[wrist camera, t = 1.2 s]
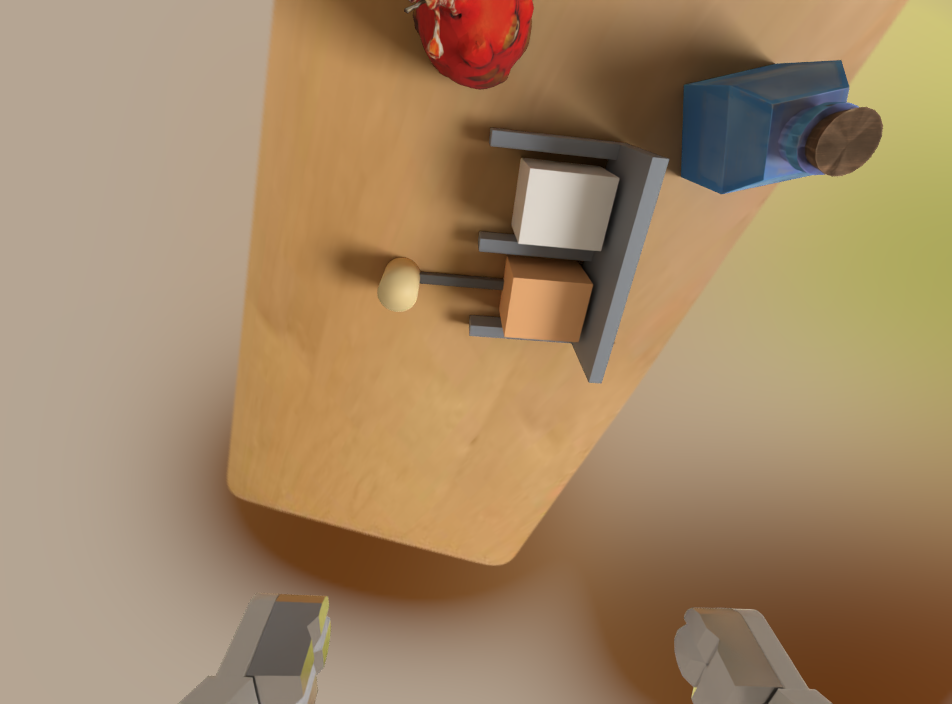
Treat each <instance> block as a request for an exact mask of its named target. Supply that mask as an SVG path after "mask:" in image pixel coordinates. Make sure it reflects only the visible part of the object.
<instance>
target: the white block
mask: <svg viewBox="0 0 952 704" xmlns="http://www.w3.org/2000/svg"><path fill="white" fill-rule="evenodd" d="M619 179H620V178H619V177H617V176H615V175H614V174H612V173H610V172H609V171H607V170H605V169H604V168H602V167H600V166H595V165H586V164H577V163H568V162H558V161H549V160H540V159H531V158H522V157H521V161H520V168H519V175H518V182H517V189H516V196H515V202H514V209H513V216H512V223H511V225H512V228H513V231H514V233H515V236H516V238H517V241H518V244H528V245H539V246H549V247H560V248H571V249H581V250H592V251H601V249H602V245H603V241H604V237H605V233H606V229H607V226H608V222H609V218H610V214H611V210H612V206H613V202H614V198H615V194H616V190H617V186H618V182H619Z"/></svg>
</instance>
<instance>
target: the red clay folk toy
mask: <svg viewBox="0 0 952 704" xmlns="http://www.w3.org/2000/svg"><path fill="white" fill-rule="evenodd" d="M409 1H410V2H411V3H412V2H415V1H416V4H414V5H412V6H410V7H408V8H405V10H404V12H406V13H409V12H410V11H411V10H413V9H414V11H413V18H414V23H415V28H416V30H417V32H418V33H419V35H420V38H421V41H422V44H423V47H424V49H425V51H426V54H427V56H428V57H429V59H430V61H431V62H432V64H433V65H434V67H435V68H436V69H437V70H438V71H439V72H440V73H441V74H442V75H444V76H446V77H449V78H450V79H451V80H453V81H454V82H456V83H458V84H460V85H463V86H467V87H470V88H474V89H487V88H491V87H494V86H496V85H498V84H500V83H502V82H504V81H506V80H507V78H508V75H509V72H510V69H511V68H512V66H513V65H514V64H515V62H516V61H517V60H518V59H519V58H520V57H521V56H522V54H523V53H524V52H525V51H526V49H527V47H528V44H529V39H530V34H531V27H532V19H531V17H532V13H533V9H534V7H533V2H532V0H409Z"/></svg>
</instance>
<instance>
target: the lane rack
mask: <svg viewBox="0 0 952 704" xmlns="http://www.w3.org/2000/svg"><path fill="white" fill-rule="evenodd" d="M489 144H490V146H494V147H503V148H512V149H521V150H530V151H539V152H548V153H557V154H566V155H575V156H584V157H593V158H602V159H608V161H607V165H606V169H605V170H607V171H609V172H610V173H612V174H614V175H615V176H617V177H619V178H620V179H619V182H618V186H617V190H616V194H615V198H614V202H613V206H612V210H611V214H610V218H609V222H608V226H607V229H606V233H605V237H604V241H603V245H602V249H601V251H592V250H581V249H571V248H560V247H549V246H539V245H528V244H518V241H517V238H516V236H515V235H514V234H504V233H493V232H482V231H479V238H478V248H479V251H481V252H492V253H503V254H514V255H525V256H536V257H547V258H558V259H569V260H580V261H584V262H583V266H582V269H583V270H584V271H585V273H586V274H587V276H588V277H589V279H590V280H591V282H592V283H593V287H592V291H591V295H590V299H589V303H588V307H587V311H586V315H585V319H584V323H583V327H582V330H581V334H580V338H579V342H564V341H550V340H537V339H523V338H510V337H504V333H503V328H502V323H501V317H490V316H477V315H470V320H469V336H480V337H493V338H507V339H520V340H534V341H547V342H561V343H572V345H573V348H574V350H575V352H576V355H577V357H578V359H579V361H580V364H581V366H582V368H583V371H584V373H585V375H586V377H587V380H588V382H589V383H602V380H603V377H604V373H605V370H606V367H607V364H608V360H609V357H610V354H611V350H612V347H613V344H614V340H615V337H616V334H617V331H618V327H619V324H620V321H621V317H622V314H623V311H624V307H625V304H626V301H627V297H628V294H629V291H630V288H631V284H632V281H633V278H634V274H635V271H636V268H637V264H638V261H639V258H640V254H641V251H642V248H643V245H644V241H645V238H646V235H647V231H648V228H649V225H650V221H651V218H652V215H653V211H654V208H655V205H656V202H657V198H658V195H659V192H660V188H661V185H662V182H663V178H664V175H665V172H666V168H667V165H668V162H669V159H668V158H665V157H662V156H660V155H657V154H654V153H651V152H649V151H646V150H643V149H641V148H638V147H635V146H632V145H630V144H627V143H622V142H613V141H604V140H595V139H587V138H578V137H569V136H560V135H552V134H543V133H534V132H526V131H517V130H508V129H499V128H490V137H489Z"/></svg>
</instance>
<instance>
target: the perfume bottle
mask: <svg viewBox="0 0 952 704" xmlns="http://www.w3.org/2000/svg"><path fill="white" fill-rule="evenodd" d="M848 92H849V84H848V81H847V78H846V74H845V71H844V68H843V64H842V61H841V60H837V61H819V62H800V63H781V64H772V65H768V66H764V67H759V68H755V69H751V70H746V71H742V72H738V73H733V74H729V75H725V76H720V77H716V78H712V79H707V80H703V81H699V82H694V83H690V84H686V85H684V99H683V130H682V161H681V177H682V178H685V179H687V180H689V181H692V182H694V183H696V184H699V185H701V186H703V187H706V188H708V189H711V190H713V191H715V192H718V193H720V194H725V193H730V192H735V191H739V190H744V189H749V188H754V187H758V186H763V185H768V184H772V183H777V182H782V181H787V180H791V179H796V178H800V177H805V176H810V175H825V174H827V175H830V176H843V175H846V174H848V173H851V172H853V171H855V170H856V169H858V168H859V167H861V166H862V165H863V164H864V163H865V162H866V161H867V160H868V159H869V158H870V157H871V156H872V154H873V153H874V152H875V150H876V149H877V147H878V145H879V142H880V139H881V137H882V129H883V124H882V121H881V117H880V116H879V114H878V113H877V112H876V111H875V110H873V109H870V108H867V107H858V106H857V105H854V104H851V103H846V102H847V97H848Z"/></svg>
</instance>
